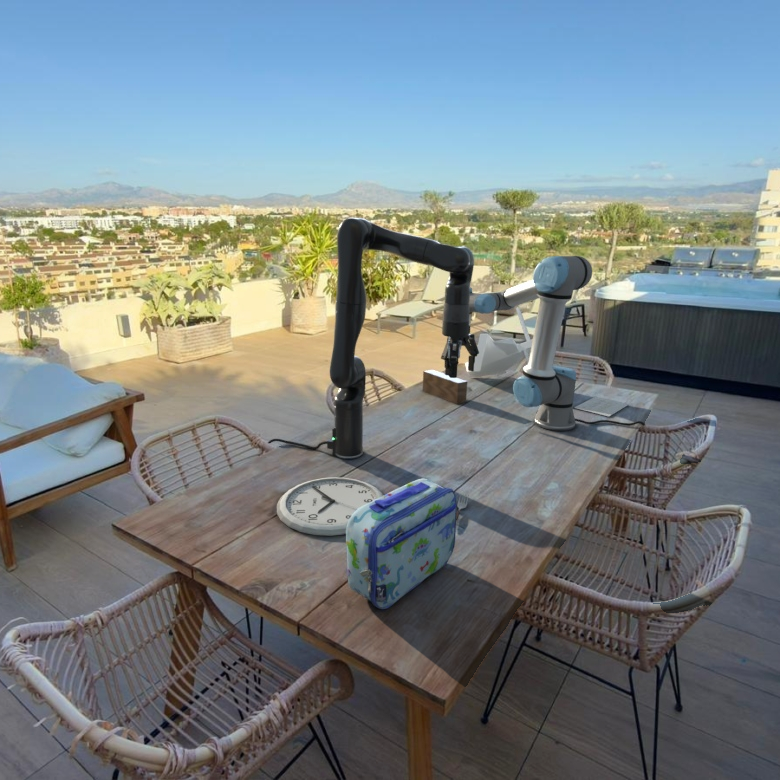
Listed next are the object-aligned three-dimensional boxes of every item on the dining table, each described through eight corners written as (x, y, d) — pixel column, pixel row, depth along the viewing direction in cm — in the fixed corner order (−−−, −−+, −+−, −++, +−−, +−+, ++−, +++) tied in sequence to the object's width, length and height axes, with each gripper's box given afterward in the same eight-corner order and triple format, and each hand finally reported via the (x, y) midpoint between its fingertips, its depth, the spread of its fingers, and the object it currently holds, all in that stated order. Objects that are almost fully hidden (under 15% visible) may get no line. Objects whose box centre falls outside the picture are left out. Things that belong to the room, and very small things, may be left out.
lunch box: (375, 622, 100) (376, 527, 94) (339, 595, 108) (338, 505, 101) (459, 565, 118) (465, 481, 112) (424, 545, 125) (427, 465, 119)
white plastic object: (486, 418, 266) (465, 396, 241) (467, 346, 288) (447, 318, 263) (557, 395, 254) (543, 368, 229) (531, 321, 276) (517, 290, 251)
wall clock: (392, 527, 129) (268, 531, 127) (391, 533, 130) (269, 537, 127) (383, 473, 158) (282, 475, 155) (383, 478, 158) (282, 480, 156)
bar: (466, 402, 229) (467, 381, 227) (457, 404, 226) (458, 383, 223) (431, 389, 247) (432, 369, 244) (422, 390, 244) (423, 371, 241)
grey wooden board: (608, 416, 214) (573, 407, 224) (608, 416, 214) (573, 408, 224) (628, 404, 229) (594, 396, 238) (628, 405, 229) (594, 397, 238)
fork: (445, 528, 132) (446, 521, 132) (459, 499, 147) (460, 493, 146) (455, 530, 132) (456, 523, 131) (468, 501, 146) (469, 494, 145)
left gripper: (443, 314, 157) (440, 366, 161) (442, 322, 143) (439, 379, 148) (468, 315, 156) (465, 368, 161) (469, 323, 142) (466, 380, 147)
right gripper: (476, 320, 230) (473, 367, 236) (433, 325, 216) (432, 375, 221) (488, 322, 224) (486, 370, 230) (445, 328, 210) (444, 379, 216)
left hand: (452, 373), depth 154 cm, fingers open, 8 cm apart
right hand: (459, 373), depth 226 cm, fingers open, 13 cm apart
